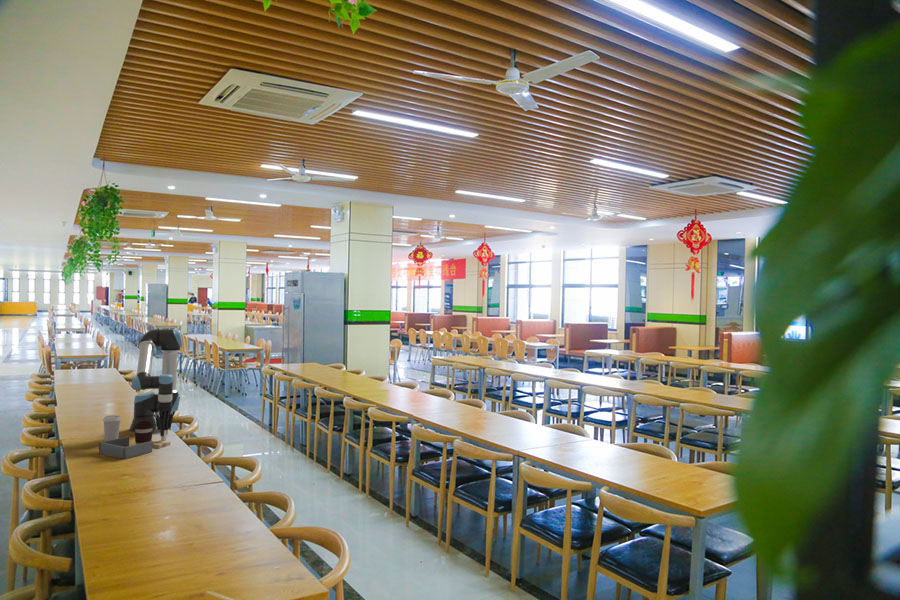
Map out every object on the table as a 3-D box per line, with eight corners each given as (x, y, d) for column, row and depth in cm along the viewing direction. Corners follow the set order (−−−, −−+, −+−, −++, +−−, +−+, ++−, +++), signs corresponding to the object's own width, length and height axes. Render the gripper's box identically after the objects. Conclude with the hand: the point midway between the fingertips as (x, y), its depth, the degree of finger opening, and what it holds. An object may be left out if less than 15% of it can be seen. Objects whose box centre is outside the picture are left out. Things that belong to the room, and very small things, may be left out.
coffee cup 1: (114, 444, 333) (115, 418, 333) (98, 443, 333) (99, 417, 333) (124, 440, 342) (125, 415, 342) (108, 439, 342) (109, 414, 342)
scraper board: (153, 443, 339) (153, 439, 339) (170, 446, 336) (170, 441, 336) (142, 446, 332) (143, 442, 332) (159, 449, 328) (159, 444, 328)
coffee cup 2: (156, 447, 331) (157, 420, 331) (145, 451, 321) (146, 424, 321) (140, 445, 332) (141, 419, 332) (129, 450, 322) (130, 423, 322)
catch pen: (127, 446, 329) (128, 436, 329) (152, 451, 320) (152, 441, 320) (99, 453, 313) (99, 442, 313) (123, 459, 305) (124, 447, 305)
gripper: (169, 398, 346) (168, 438, 346) (150, 402, 334) (149, 442, 334) (178, 400, 343) (177, 439, 343) (160, 403, 331) (158, 444, 331)
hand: (163, 441), depth 338 cm, fingers closed
